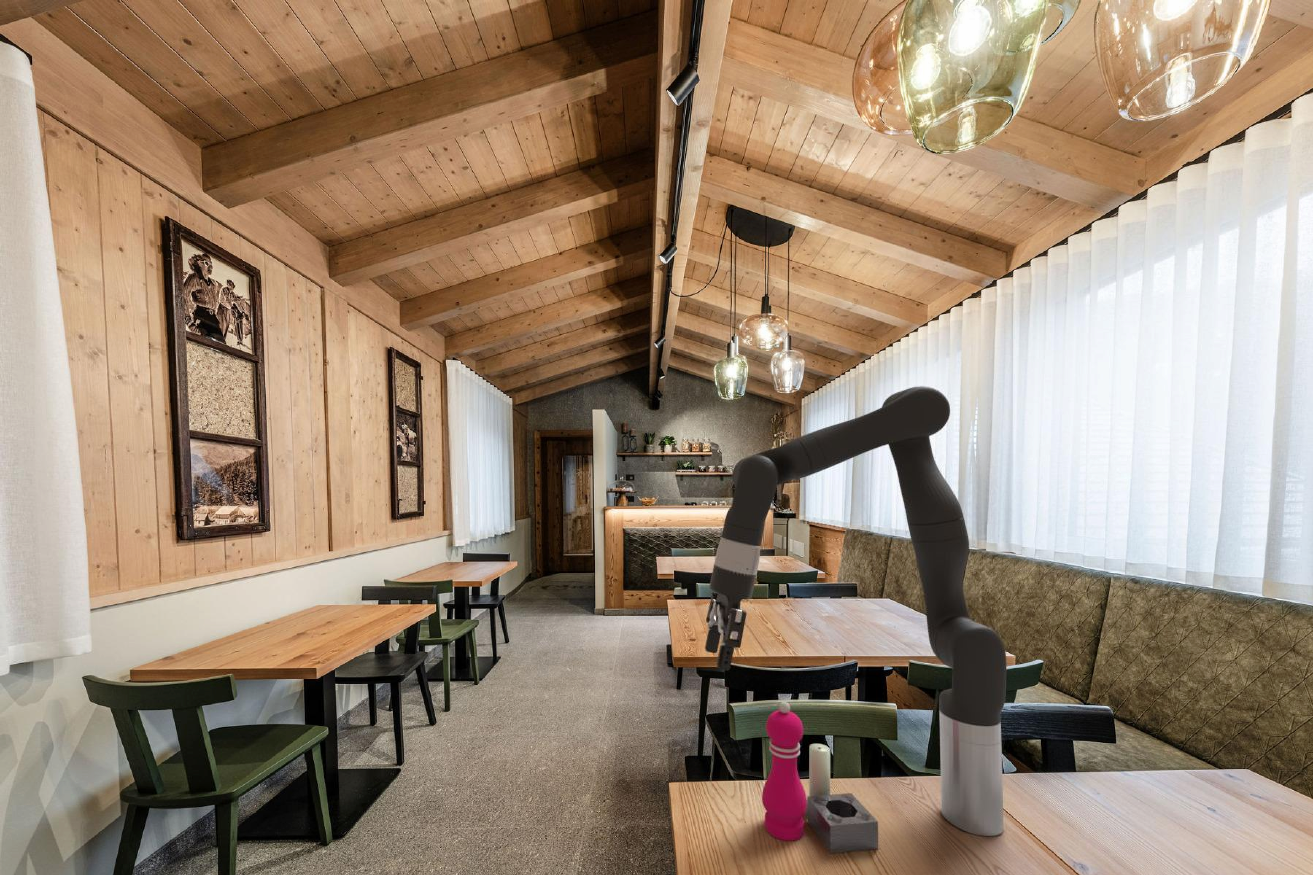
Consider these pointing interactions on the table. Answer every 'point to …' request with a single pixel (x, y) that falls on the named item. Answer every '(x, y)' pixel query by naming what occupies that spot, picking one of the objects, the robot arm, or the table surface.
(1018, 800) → the table surface
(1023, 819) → the table surface
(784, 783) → the pepper mill
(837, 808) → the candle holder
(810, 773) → the candle
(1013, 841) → the table surface
